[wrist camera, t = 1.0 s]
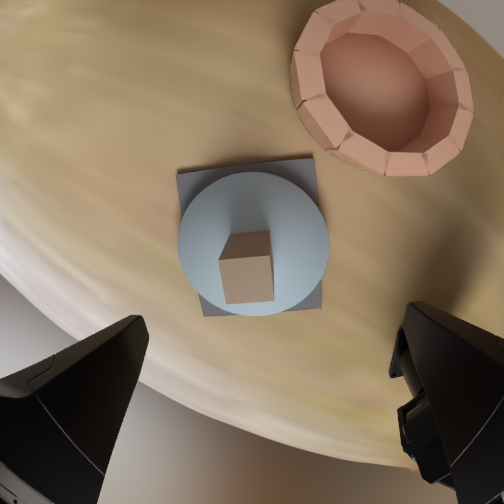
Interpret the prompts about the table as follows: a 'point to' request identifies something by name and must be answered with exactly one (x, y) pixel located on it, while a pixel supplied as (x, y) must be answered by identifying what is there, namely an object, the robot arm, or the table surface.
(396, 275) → the table surface
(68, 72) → the table surface
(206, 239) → the lid
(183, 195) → the mat
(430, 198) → the table surface
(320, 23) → the bowl
